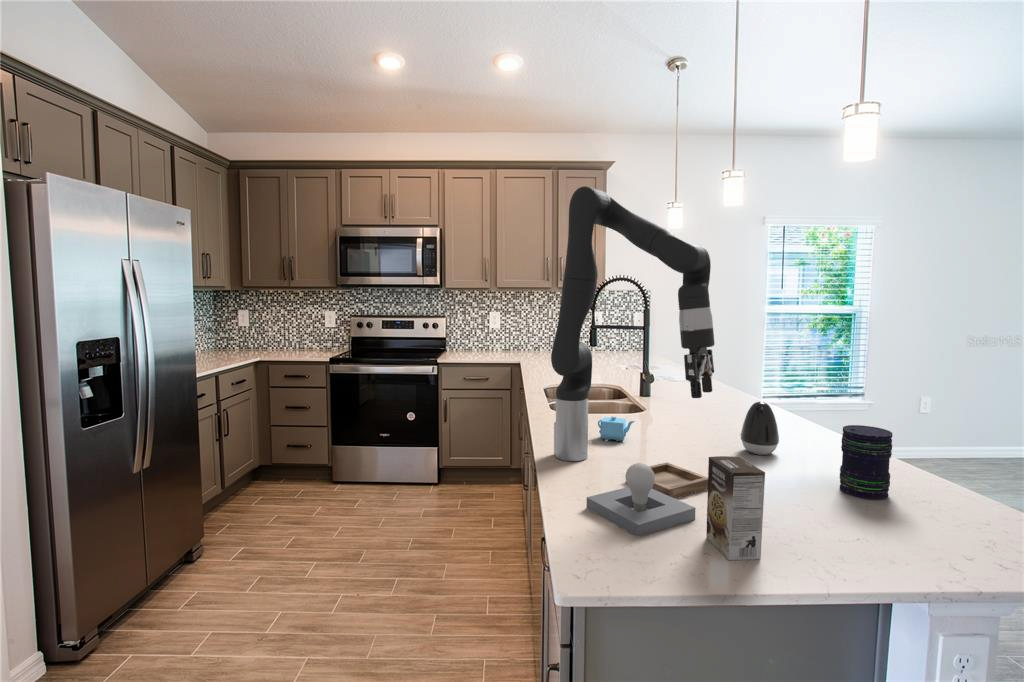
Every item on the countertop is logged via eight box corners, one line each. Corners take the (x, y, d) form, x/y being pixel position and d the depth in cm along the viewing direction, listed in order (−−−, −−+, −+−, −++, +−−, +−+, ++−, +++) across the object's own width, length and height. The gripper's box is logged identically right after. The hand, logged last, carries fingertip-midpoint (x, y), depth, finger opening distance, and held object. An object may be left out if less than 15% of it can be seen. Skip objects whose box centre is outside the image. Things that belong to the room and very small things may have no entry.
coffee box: (704, 537, 101) (707, 456, 100) (736, 536, 102) (739, 455, 101) (727, 561, 92) (730, 472, 91) (762, 559, 93) (766, 471, 92)
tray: (626, 481, 132) (626, 471, 131) (666, 471, 139) (666, 462, 138) (669, 500, 120) (669, 489, 119) (710, 488, 127) (710, 478, 126)
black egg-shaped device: (740, 455, 152) (742, 403, 151) (739, 445, 162) (741, 397, 160) (779, 459, 148) (782, 406, 147) (776, 449, 158) (778, 399, 157)
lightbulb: (655, 520, 109) (656, 469, 108) (625, 518, 110) (625, 467, 109) (653, 509, 115) (654, 460, 114) (624, 506, 116) (625, 458, 115)
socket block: (586, 508, 115) (586, 497, 115) (640, 494, 123) (640, 483, 123) (638, 537, 102) (638, 524, 101) (695, 519, 110) (695, 507, 109)
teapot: (636, 439, 170) (636, 416, 169) (633, 444, 164) (634, 420, 163) (599, 435, 174) (599, 413, 173) (595, 440, 168) (595, 417, 168)
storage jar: (881, 487, 127) (884, 427, 126) (895, 502, 118) (900, 437, 116) (834, 482, 130) (837, 423, 129) (844, 497, 121) (848, 433, 120)
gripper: (690, 327, 133) (695, 390, 134) (670, 330, 122) (676, 399, 122) (720, 324, 129) (726, 390, 129) (703, 328, 117) (709, 400, 118)
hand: (702, 395), depth 126 cm, fingers open, 8 cm apart
